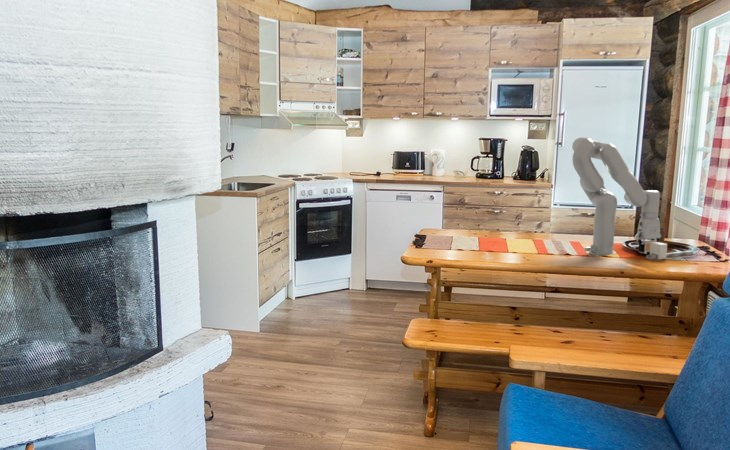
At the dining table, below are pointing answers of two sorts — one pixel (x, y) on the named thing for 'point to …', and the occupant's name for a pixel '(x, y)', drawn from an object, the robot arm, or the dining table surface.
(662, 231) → the mug
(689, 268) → the dining table surface
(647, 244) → the white and orange block
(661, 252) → the white block
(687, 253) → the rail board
